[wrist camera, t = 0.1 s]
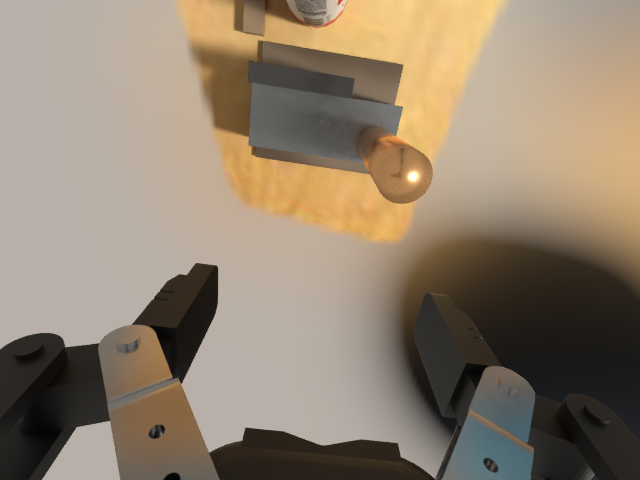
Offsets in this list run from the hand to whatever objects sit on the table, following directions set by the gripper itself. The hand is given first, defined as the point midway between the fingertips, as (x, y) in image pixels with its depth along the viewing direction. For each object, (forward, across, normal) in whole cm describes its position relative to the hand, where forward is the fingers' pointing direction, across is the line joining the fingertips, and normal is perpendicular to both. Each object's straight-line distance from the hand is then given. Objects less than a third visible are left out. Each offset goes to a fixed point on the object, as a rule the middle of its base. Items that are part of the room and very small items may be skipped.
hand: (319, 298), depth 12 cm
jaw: (+28, 0, -5) cm, 29 cm away
